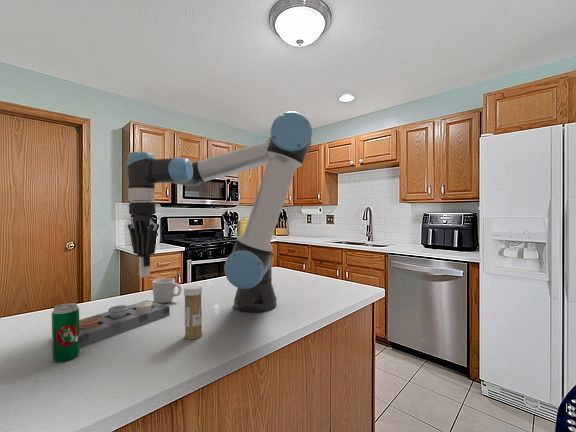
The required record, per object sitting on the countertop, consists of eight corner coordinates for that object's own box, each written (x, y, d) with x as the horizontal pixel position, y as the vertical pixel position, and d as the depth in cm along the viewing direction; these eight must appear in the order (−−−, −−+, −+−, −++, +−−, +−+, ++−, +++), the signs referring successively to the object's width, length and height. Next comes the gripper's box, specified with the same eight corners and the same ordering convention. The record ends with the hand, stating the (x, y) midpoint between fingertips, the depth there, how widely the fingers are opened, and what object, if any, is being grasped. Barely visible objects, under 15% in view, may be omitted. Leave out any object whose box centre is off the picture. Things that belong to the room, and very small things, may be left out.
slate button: (131, 316, 87) (131, 306, 87) (114, 322, 83) (114, 311, 83) (122, 313, 90) (121, 304, 89) (105, 319, 85) (104, 309, 85)
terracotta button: (103, 330, 80) (103, 319, 80) (83, 336, 76) (83, 325, 76) (93, 326, 83) (93, 315, 83) (73, 332, 78) (73, 321, 78)
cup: (186, 298, 112) (185, 278, 112) (176, 305, 104) (175, 283, 104) (159, 298, 113) (159, 277, 113) (147, 304, 105) (147, 282, 105)
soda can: (62, 352, 70) (61, 302, 69) (84, 351, 70) (83, 302, 70) (46, 363, 65) (45, 310, 64) (70, 362, 65) (69, 309, 65)
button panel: (169, 315, 94) (169, 306, 94) (79, 348, 72) (78, 336, 72) (146, 309, 100) (146, 300, 100) (56, 337, 78) (56, 326, 78)
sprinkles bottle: (201, 338, 77) (201, 288, 77) (183, 340, 76) (182, 289, 76) (202, 331, 81) (202, 283, 81) (185, 333, 80) (185, 284, 80)
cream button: (155, 312, 94) (155, 303, 94) (141, 317, 90) (141, 307, 90) (146, 309, 96) (146, 300, 96) (131, 314, 92) (131, 305, 92)
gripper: (165, 201, 92) (168, 275, 93) (140, 203, 99) (143, 272, 99) (143, 201, 86) (146, 281, 86) (118, 202, 92) (121, 277, 93)
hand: (144, 276), depth 93 cm, fingers closed
